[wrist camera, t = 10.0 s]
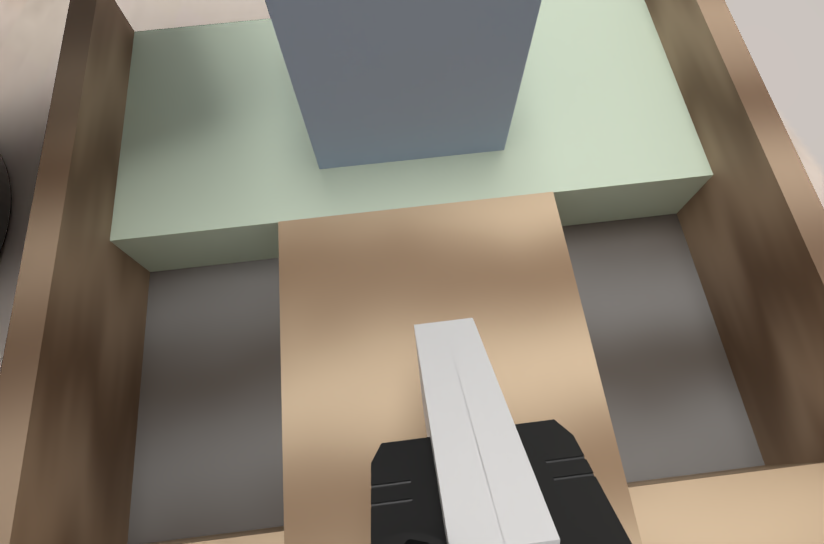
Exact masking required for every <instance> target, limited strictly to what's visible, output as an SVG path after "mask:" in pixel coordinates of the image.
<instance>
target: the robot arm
mask: <svg viewBox="0 0 824 544" xmlns="http://www.w3.org/2000/svg"><path fill="white" fill-rule="evenodd" d="M10 208H11V191H10V183H9V177H8V173H7V170H6V167H5V164H4V161H3V159H2V157H1V155H0V250H1V247H2V245H3V242H4V238H5V235H6V231H7V227H8V222H9V217H10ZM414 330H415V339H416V348H417V357H418V366H419V375H420V384H421V393H422V402H423V411H424V419H425V425H426V432H427V437H425V438H418V439H410V440H402V441H394V442H387V443H381V445H380V447H379V449H378V450H377V452H376V454H375V456H374V458H373V460H372V462H371V544H632V543H631V541H630V539H629V537H628V535H627V533H626V532H625V530H624V528H623V526H622V524H621V522H620V520H619V519H618V517H617V515H616V513H615V511H614V509H613V507H612V506H611V504H610V502H609V500H608V498H607V496H606V495H605V493H604V491H603V489H602V487H601V485H600V483H599V482H598V480H597V478H596V476H595V477H594V474H593V470H592V469H591V467H590V465H589V463H588V461H587V459H585V457H584V454H583V452H582V450H581V448H580V446H579V445H578V443H577V441H576V439H575V437H574V435H573V434H571V433H570V432H569V431H568V430H567V429H565V428H564V427H563V426H562V425H560V424H559V423H558V422H557V421H556V420H554V419H552V420H545V421H537V422H529V423H521V424H514V421H513V419H512V416H511V414H510V411H509V409H508V406H507V403H506V401H505V398H504V396H503V393H502V391H501V388H500V386H499V383H498V381H497V378H496V376H495V373H494V370H493V368H492V365H491V363H490V360H489V358H488V355H487V353H486V350H485V348H484V345H483V343H482V340H481V338H480V335H479V332H478V330H477V327H476V325H475V322H474V320H473V318H465V319H457V320H449V321H441V322H433V323H425V324H416V325H414Z"/></svg>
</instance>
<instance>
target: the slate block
mask: <svg viewBox="0 0 824 544" xmlns="http://www.w3.org/2000/svg"><path fill="white" fill-rule="evenodd" d="M541 1H542V0H265V2H266V5H267V8H268V11H269V14H270V18H271V21H272V24H273V27H274V30H275V33H276V36H277V39H278V42H279V45H280V49H281V52H282V55H283V58H284V61H285V64H286V67H287V70H288V73H289V76H290V79H291V83H292V86H293V89H294V92H295V95H296V98H297V101H298V104H299V107H300V110H301V113H302V117H303V120H304V123H305V126H306V129H307V132H308V135H309V138H310V141H311V144H312V147H313V151H314V154H315V157H316V160H317V163H318V166H319V169H327V168H337V167H346V166H356V165H366V164H375V163H385V162H395V161H404V160H414V159H423V158H433V157H443V156H452V155H462V154H472V153H481V152H491V151H501V150H504V148H505V144H506V140H507V136H508V132H509V128H510V124H511V120H512V117H513V113H514V109H515V105H516V101H517V97H518V93H519V89H520V85H521V81H522V77H523V73H524V69H525V65H526V61H527V57H528V53H529V49H530V45H531V41H532V37H533V33H534V29H535V25H536V21H537V17H538V13H539V9H540V5H541Z"/></svg>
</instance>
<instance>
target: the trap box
mask: <svg viewBox="0 0 824 544" xmlns="http://www.w3.org/2000/svg"><path fill="white" fill-rule="evenodd" d="M645 3H646V5H647V8H648V10H649V13H650V15H651V18H652V21H653V23H654V26H655V28H656V31H657V33H658V36H659V38H660V41H661V43H662V46H663V48H664V51H665V53H666V56H667V59H668V61H669V64H670V66H671V69H672V71H673V74H674V76H675V79H676V81H677V84H678V86H679V89H680V91H681V94H682V97H683V99H684V102H685V104H686V107H687V109H688V112H689V114H690V117H691V119H692V122H693V124H694V127H695V129H696V132H697V135H698V137H699V140H700V142H701V145H702V147H703V150H704V152H705V155H706V157H707V160H708V162H709V165H710V167H711V170H712V173H713V176H712V177H711V178H710V179H709V180H708V181H707V182H706V183H705V184H704V185H703V186H702V187H701V188H700V189H699V191H698V192H697V193H696V194H695V195H694V196H693V197H692V198H691V199H690V200H689V201H688V202H687V203H686V204H685V205H684V206H683V207H682V208H681V209H680V210H679V212H678V213H677V214H668V215H659V216H650V217H641V218H632V219H623V220H614V221H605V222H596V223H587V224H578V225H569V226H562V225H561V221H560V217H559V213H558V209H557V205H556V201H555V197H554V193H553V192H545V193H536V194H527V195H518V196H509V197H500V198H490V199H481V200H472V201H463V202H454V203H445V204H435V205H426V206H417V207H408V208H399V209H390V210H380V211H371V212H362V213H353V214H344V215H335V216H326V217H316V218H307V219H298V220H289V221H280V222H278V241H279V258H272V259H263V260H254V261H245V262H236V263H227V264H218V265H209V266H200V267H191V268H182V269H173V270H164V271H155V272H149V271H148V270H147V269H145V268H144V267H143V266H142V265H140V264H139V263H138V262H136V261H135V260H134V259H133V258H131V257H130V256H129V255H127V254H126V253H125V252H124V251H122V250H121V249H120V248H118V247H117V246H116V245H114V244H113V243H112V242H111V241H110V234H111V226H112V217H113V209H114V200H115V192H116V183H117V175H118V167H119V158H120V150H121V141H122V133H123V124H124V116H125V107H126V99H127V91H128V82H129V74H130V65H131V57H132V48H133V40H134V30H133V29H132V27H131V25H130V24H129V22H128V21H127V19H126V18H125V16H124V14H123V13H122V11H121V10H120V8H119V7H118V5H117V3H116V2H115V0H70V3H69V9H68V14H67V19H66V25H65V30H64V35H63V41H62V46H61V51H60V57H59V62H58V67H57V73H56V78H55V83H54V89H53V94H52V99H51V105H50V110H49V115H48V121H47V126H46V131H45V137H44V142H43V147H42V153H41V158H40V163H39V169H38V174H37V179H36V185H35V190H34V195H33V201H32V206H31V212H30V217H29V222H28V228H27V233H26V238H25V244H24V249H23V254H22V260H21V265H20V270H19V276H18V281H17V286H16V292H15V297H14V302H13V308H12V313H11V318H10V324H9V329H8V334H7V340H6V345H5V350H4V356H3V361H2V366H1V372H0V544H371V462H372V460H373V458H374V456H375V454H376V452H377V450H378V449H379V447H380V445H381V443H387V442H394V441H402V440H410V439H418V438H425V437H427V432H426V425H425V419H424V411H423V402H422V393H421V384H420V375H419V366H418V357H417V348H416V339H415V330H414V325H416V324H425V323H433V322H441V321H449V320H457V319H465V318H473V320H474V322H475V325H476V327H477V330H478V332H479V335H480V338H481V340H482V343H483V345H484V348H485V350H486V353H487V355H488V358H489V360H490V363H491V365H492V368H493V370H494V373H495V376H496V378H497V381H498V383H499V386H500V388H501V391H502V393H503V396H504V398H505V401H506V403H507V406H508V409H509V411H510V414H511V416H512V419H513V421H514V424H521V423H529V422H537V421H545V420H552V419H554V420H556V421H557V422H558V423H559V424H560V425H562V426H563V427H564V428H565V429H567V430H568V431H569V432H570V433H571V434H573V435H574V437H575V439H576V441H577V443H578V445H579V446H580V448H581V450H582V452H583V454H584V457H585V459H587V461H588V463H589V465H590V467H591V469H592V470H593V474H594V477H595V476H596V478H597V480H598V482H599V483H600V485H601V487H602V489H603V491H604V493H605V495H606V496H607V498H608V500H609V502H610V504H611V506H612V507H613V509H614V511H615V513H616V515H617V517H618V519H619V520H620V522H621V524H622V526H623V528H624V530H625V532H626V533H627V535H628V537H629V539H630V541H631V543H632V544H824V209H823V206H822V204H821V202H820V200H819V198H818V196H817V194H816V192H815V190H814V188H813V185H812V183H811V181H810V179H809V177H808V175H807V173H806V171H805V169H804V166H803V164H802V162H801V160H800V158H799V156H798V154H797V152H796V150H795V148H794V145H793V143H792V141H791V139H790V137H789V135H788V133H787V131H786V129H785V127H784V124H783V122H782V120H781V118H780V116H779V114H778V112H777V110H776V108H775V106H774V103H773V101H772V99H771V97H770V95H769V93H768V91H767V89H766V87H765V85H764V82H763V80H762V78H761V76H760V74H759V72H758V70H757V68H756V66H755V64H754V61H753V59H752V57H751V55H750V53H749V51H748V49H747V47H746V45H745V43H744V40H743V39H742V36H741V34H740V32H739V30H738V28H737V26H736V24H735V21H734V20H733V17H732V15H731V13H730V11H729V9H728V7H727V5H726V3H725V0H645Z"/></svg>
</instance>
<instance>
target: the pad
mask: <svg viewBox="0 0 824 544" xmlns="http://www.w3.org/2000/svg"><path fill="white" fill-rule="evenodd" d="M712 176H713V173H712V170H711V167H710V165H709V162H708V160H707V157H706V155H705V152H704V150H703V147H702V145H701V142H700V140H699V137H698V135H697V132H696V129H695V127H694V124H693V122H692V119H691V117H690V114H689V112H688V109H687V107H686V104H685V102H684V99H683V97H682V94H681V91H680V89H679V86H678V84H677V81H676V79H675V76H674V74H673V71H672V69H671V66H670V64H669V61H668V59H667V56H666V53H665V51H664V48H663V46H662V43H661V41H660V38H659V36H658V33H657V31H656V28H655V26H654V23H653V21H652V18H651V15H650V13H649V10H648V8H647V5H646V3H645V0H542V1H541V5H540V9H539V13H538V17H537V21H536V25H535V29H534V33H533V37H532V41H531V45H530V49H529V53H528V57H527V61H526V65H525V69H524V73H523V77H522V81H521V85H520V89H519V93H518V97H517V101H516V105H515V109H514V113H513V117H512V120H511V124H510V128H509V132H508V136H507V140H506V144H505V148H504V150H501V151H491V152H481V153H472V154H462V155H452V156H443V157H433V158H423V159H414V160H404V161H395V162H385V163H375V164H366V165H356V166H346V167H337V168H327V169H319V166H318V163H317V160H316V157H315V154H314V151H313V147H312V144H311V141H310V138H309V135H308V132H307V129H306V126H305V123H304V120H303V117H302V113H301V110H300V107H299V104H298V101H297V98H296V95H295V92H294V89H293V86H292V83H291V79H290V76H289V73H288V70H287V67H286V64H285V61H284V58H283V55H282V52H281V49H280V45H279V42H278V39H277V36H276V33H275V30H274V27H273V24H272V21H271V18H270V19H260V20H250V21H239V22H229V23H219V24H209V25H198V26H188V27H178V28H168V29H157V30H147V31H137V32H134V40H133V48H132V57H131V65H130V74H129V82H128V91H127V99H126V107H125V116H124V124H123V133H122V141H121V150H120V158H119V167H118V175H117V183H116V192H115V200H114V209H113V217H112V226H111V234H110V241H111V242H112V243H113V244H114V245H116V246H117V247H118V248H120V249H121V250H122V251H124V252H125V253H126V254H127V255H129V256H130V257H131V258H133V259H134V260H135V261H136V262H138V263H139V264H140V265H142V266H143V267H144V268H145V269H147V270H148V271H149V272H155V271H164V270H173V269H182V268H191V267H200V266H209V265H218V264H227V263H236V262H245V261H254V260H263V259H272V258H279V241H278V222H280V221H289V220H298V219H307V218H316V217H326V216H335V215H344V214H353V213H362V212H371V211H380V210H390V209H399V208H408V207H417V206H426V205H435V204H445V203H454V202H463V201H472V200H481V199H490V198H500V197H509V196H518V195H527V194H536V193H545V192H553V193H554V197H555V201H556V205H557V209H558V213H559V217H560V221H561V225H562V226H569V225H578V224H587V223H596V222H605V221H614V220H623V219H632V218H641V217H650V216H659V215H668V214H677V213H678V212H679V210H680V209H681V208H682V207H683V206H684V205H685V204H686V203H687V202H688V201H689V200H690V199H691V198H692V197H693V196H694V195H695V194H696V193H697V192H698V191H699V189H700V188H701V187H702V186H703V185H704V184H705V183H706V182H707V181H708V180H709V179H710V178H711V177H712Z"/></svg>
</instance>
